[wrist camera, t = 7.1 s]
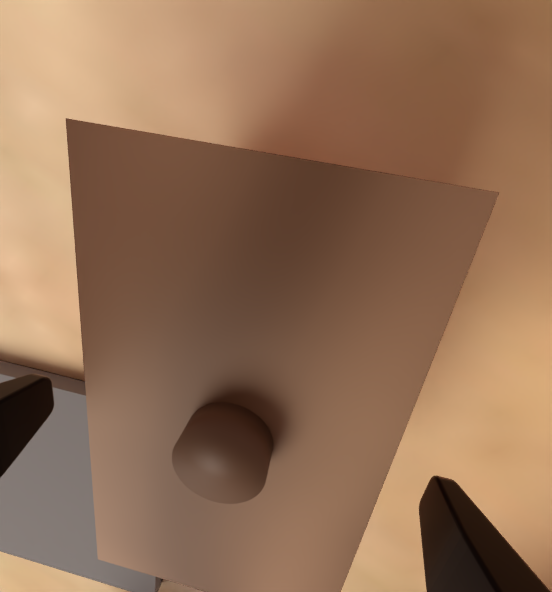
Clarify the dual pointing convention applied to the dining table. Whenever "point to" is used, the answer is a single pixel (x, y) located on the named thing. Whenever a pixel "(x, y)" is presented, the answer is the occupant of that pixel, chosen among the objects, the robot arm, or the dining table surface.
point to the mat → (58, 493)
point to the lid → (252, 349)
